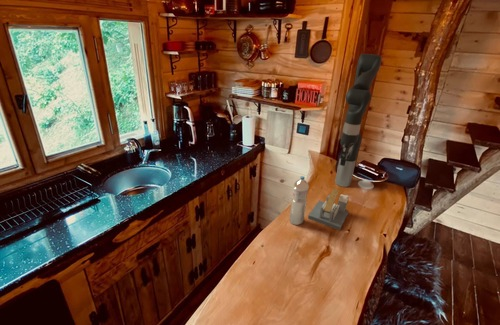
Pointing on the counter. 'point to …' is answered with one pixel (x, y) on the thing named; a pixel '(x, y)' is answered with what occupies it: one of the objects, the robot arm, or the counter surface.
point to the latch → (343, 198)
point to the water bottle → (299, 201)
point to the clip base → (325, 219)
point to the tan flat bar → (331, 201)
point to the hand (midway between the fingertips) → (344, 162)
